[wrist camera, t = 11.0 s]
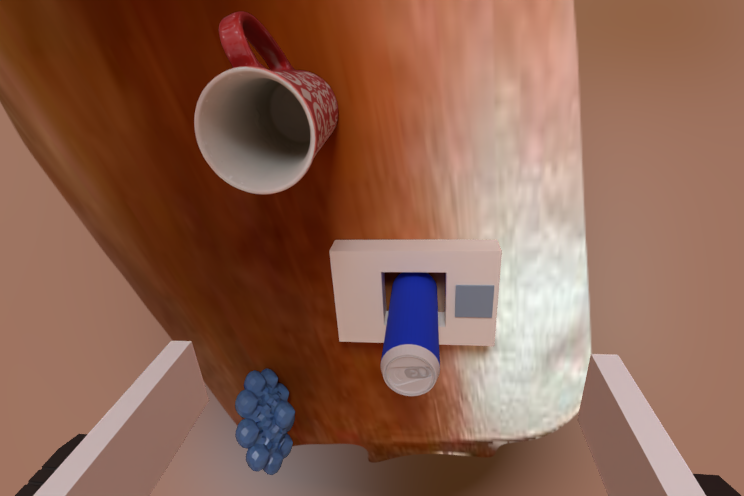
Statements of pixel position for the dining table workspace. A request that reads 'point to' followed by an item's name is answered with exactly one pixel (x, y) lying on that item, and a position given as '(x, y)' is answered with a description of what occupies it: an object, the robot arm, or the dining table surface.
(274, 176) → the mug
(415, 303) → the beverage can
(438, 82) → the dining table surface
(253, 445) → the grapes
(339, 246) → the socket board
